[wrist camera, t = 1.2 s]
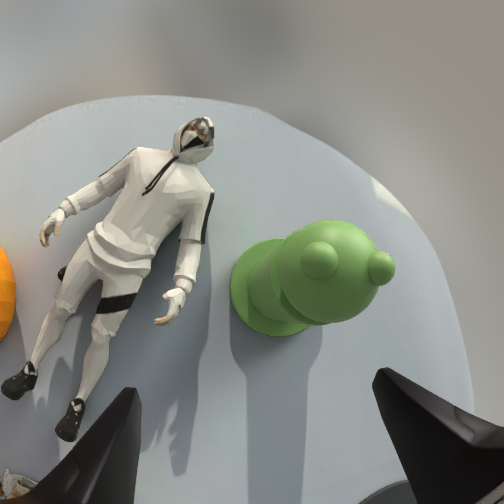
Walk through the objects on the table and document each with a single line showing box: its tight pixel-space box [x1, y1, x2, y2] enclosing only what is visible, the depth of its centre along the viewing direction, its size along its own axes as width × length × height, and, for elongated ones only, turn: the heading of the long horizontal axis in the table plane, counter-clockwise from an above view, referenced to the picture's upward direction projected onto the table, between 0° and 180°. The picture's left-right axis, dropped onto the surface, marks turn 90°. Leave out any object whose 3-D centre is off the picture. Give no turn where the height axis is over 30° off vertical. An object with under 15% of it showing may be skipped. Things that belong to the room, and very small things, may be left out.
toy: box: [230, 220, 395, 337], centre depth 19 cm, size 8×8×15 cm
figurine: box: [1, 117, 214, 442], centre depth 21 cm, size 13×6×30 cm
